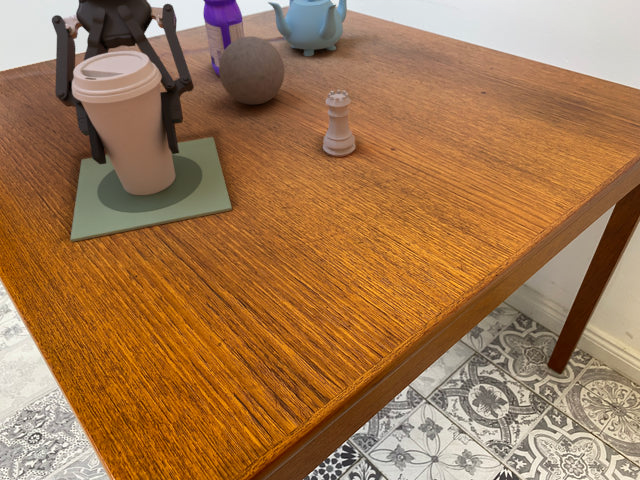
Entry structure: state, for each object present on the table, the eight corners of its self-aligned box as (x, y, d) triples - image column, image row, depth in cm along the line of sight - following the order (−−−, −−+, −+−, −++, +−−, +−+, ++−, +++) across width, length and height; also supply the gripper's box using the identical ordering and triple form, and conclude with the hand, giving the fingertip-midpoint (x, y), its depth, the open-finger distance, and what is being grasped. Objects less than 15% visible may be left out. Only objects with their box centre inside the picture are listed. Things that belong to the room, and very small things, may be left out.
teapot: (336, 62, 94) (335, 4, 88) (268, 57, 97) (262, 0, 91) (352, 38, 104) (352, -17, 97) (290, 34, 107) (286, -19, 100)
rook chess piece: (351, 159, 68) (350, 103, 63) (318, 156, 69) (315, 99, 64) (359, 143, 71) (359, 88, 66) (328, 139, 72) (326, 85, 67)
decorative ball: (268, 83, 88) (261, 22, 82) (298, 103, 82) (293, 39, 75) (214, 99, 84) (202, 37, 78) (242, 122, 78) (232, 56, 71)
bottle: (255, 75, 91) (241, -34, 80) (226, 84, 89) (207, -28, 78) (236, 63, 96) (220, -42, 85) (208, 71, 94) (188, -36, 82)
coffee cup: (96, 185, 65) (48, 70, 55) (158, 152, 71) (124, 41, 61) (139, 213, 60) (95, 92, 50) (203, 175, 66) (174, 59, 56)
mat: (82, 161, 71) (81, 158, 70) (213, 139, 74) (213, 136, 74) (71, 242, 57) (69, 239, 57) (232, 210, 61) (231, 207, 60)
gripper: (0, -44, 56) (28, 160, 54) (191, -61, 59) (224, 133, 57) (31, -5, 63) (56, 176, 62) (199, -21, 66) (228, 151, 64)
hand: (137, 155), depth 59 cm, fingers closed on coffee cup, 8 cm apart
